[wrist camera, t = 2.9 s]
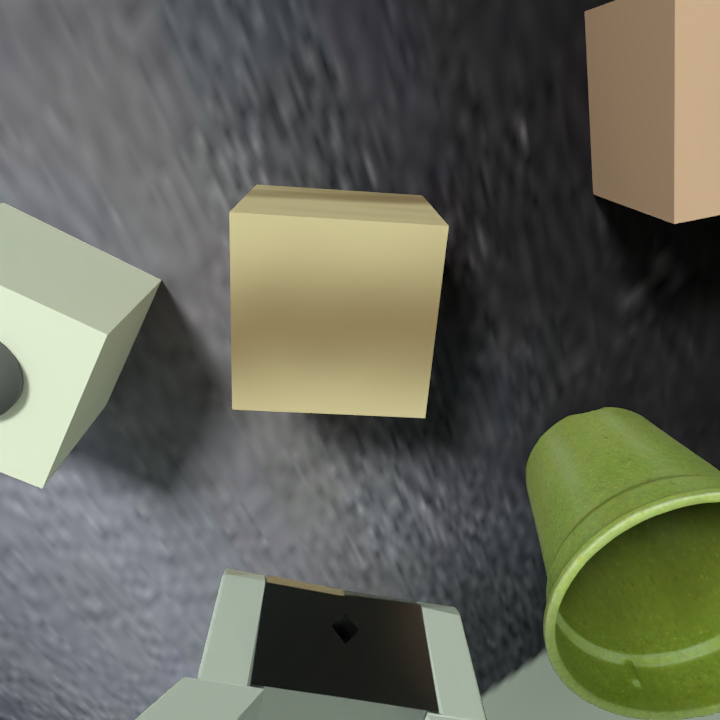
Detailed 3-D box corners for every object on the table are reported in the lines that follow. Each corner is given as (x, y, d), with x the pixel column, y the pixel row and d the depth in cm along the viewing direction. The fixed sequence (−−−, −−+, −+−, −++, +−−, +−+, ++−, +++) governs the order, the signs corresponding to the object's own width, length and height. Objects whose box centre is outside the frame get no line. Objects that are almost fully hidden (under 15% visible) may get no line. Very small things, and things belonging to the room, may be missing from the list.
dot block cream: (4, 202, 22) (-114, 238, 16) (161, 279, 23) (103, 338, 18) (-41, 340, 24) (-161, 415, 18) (106, 404, 25) (37, 494, 20)
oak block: (256, 184, 22) (229, 212, 17) (421, 195, 23) (449, 226, 17) (256, 339, 25) (232, 409, 19) (406, 347, 25) (425, 418, 19)
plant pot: (613, 579, 30) (714, 754, 22) (446, 506, 28) (489, 670, 20) (743, 426, 27) (916, 565, 19) (565, 333, 25) (675, 443, 17)
